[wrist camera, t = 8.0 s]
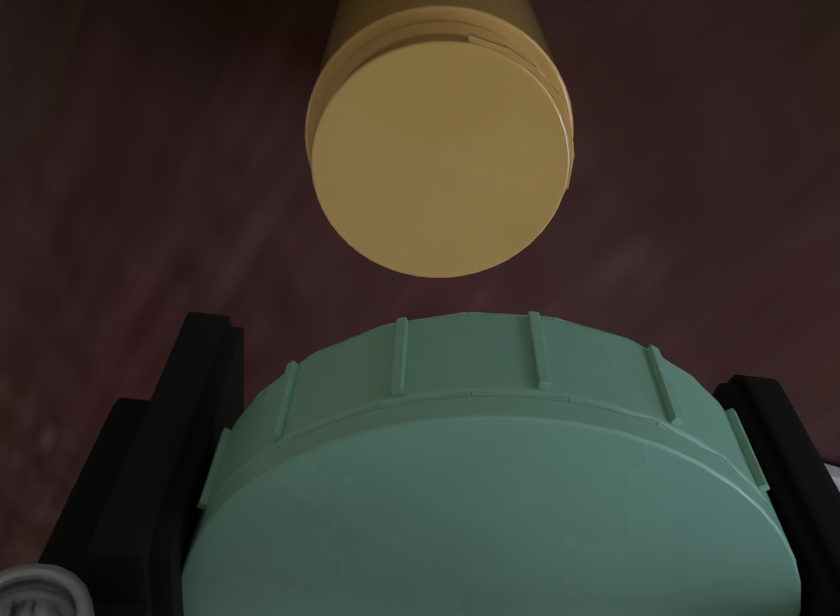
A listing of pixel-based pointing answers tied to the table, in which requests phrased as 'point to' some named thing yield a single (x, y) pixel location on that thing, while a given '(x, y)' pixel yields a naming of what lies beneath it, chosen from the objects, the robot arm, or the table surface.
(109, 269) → the table surface
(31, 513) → the table surface
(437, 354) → the lid
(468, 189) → the jam jar
